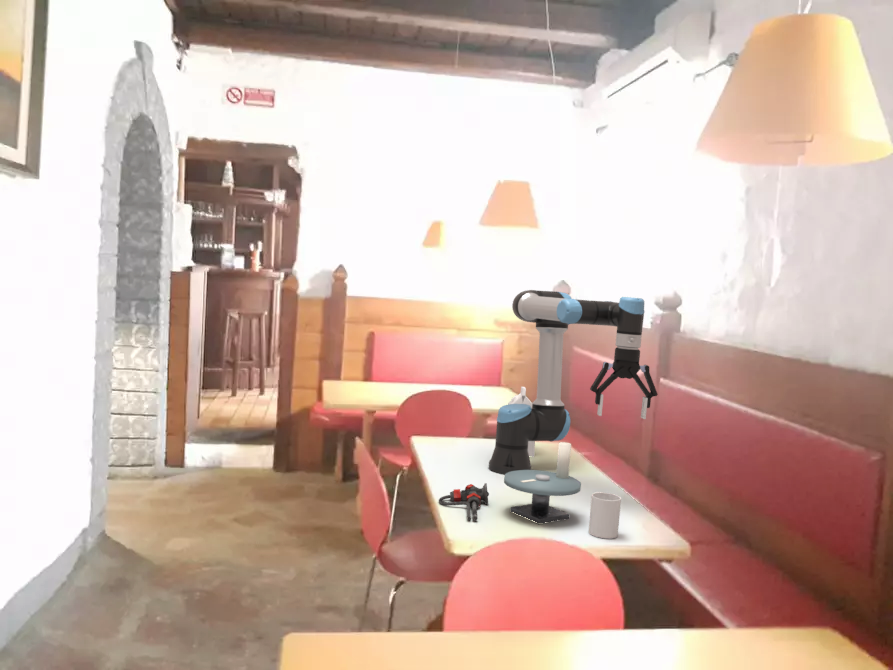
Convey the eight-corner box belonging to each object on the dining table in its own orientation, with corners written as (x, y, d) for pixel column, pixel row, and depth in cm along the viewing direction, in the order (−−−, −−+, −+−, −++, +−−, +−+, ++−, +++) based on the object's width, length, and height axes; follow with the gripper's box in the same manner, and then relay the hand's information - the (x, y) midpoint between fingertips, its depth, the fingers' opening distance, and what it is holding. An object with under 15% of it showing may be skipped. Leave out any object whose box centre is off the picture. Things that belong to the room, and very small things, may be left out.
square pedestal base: (510, 512, 225) (512, 482, 225) (540, 507, 233) (542, 478, 232) (538, 524, 216) (541, 493, 215) (568, 518, 223) (571, 488, 222)
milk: (534, 457, 301) (539, 390, 300) (504, 454, 302) (510, 388, 300) (531, 450, 313) (536, 386, 312) (502, 448, 313) (508, 384, 312)
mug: (622, 539, 208) (625, 501, 207) (593, 538, 207) (597, 500, 206) (606, 524, 220) (609, 488, 219) (579, 524, 219) (582, 487, 218)
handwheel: (540, 499, 208) (544, 456, 207) (488, 479, 226) (491, 439, 225) (596, 491, 221) (600, 451, 221) (543, 472, 239) (546, 435, 238)
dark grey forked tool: (440, 500, 240) (488, 497, 240) (438, 531, 214) (492, 527, 214) (438, 480, 239) (487, 477, 239) (436, 509, 213) (491, 505, 213)
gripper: (589, 346, 232) (583, 416, 233) (672, 352, 233) (665, 421, 234) (584, 343, 239) (578, 411, 241) (664, 349, 240) (657, 417, 242)
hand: (621, 416), depth 238 cm, fingers open, 13 cm apart
